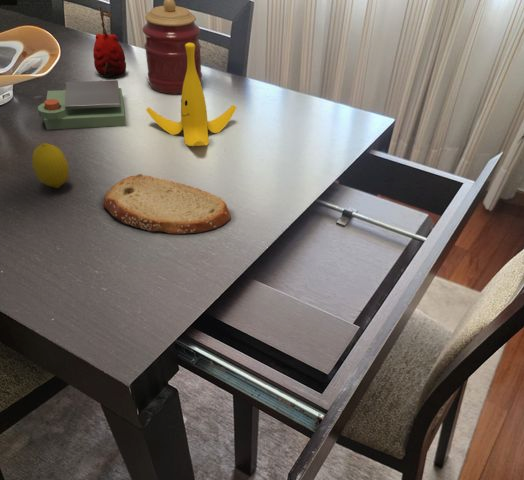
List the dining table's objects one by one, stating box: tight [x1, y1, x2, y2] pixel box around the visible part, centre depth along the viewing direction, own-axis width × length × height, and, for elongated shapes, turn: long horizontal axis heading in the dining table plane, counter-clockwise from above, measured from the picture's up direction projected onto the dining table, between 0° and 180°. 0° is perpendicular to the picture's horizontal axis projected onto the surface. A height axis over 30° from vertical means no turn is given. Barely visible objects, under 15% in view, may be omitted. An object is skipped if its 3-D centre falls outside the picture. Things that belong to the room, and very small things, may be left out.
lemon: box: [31, 142, 70, 189], centre depth 83 cm, size 6×6×8 cm
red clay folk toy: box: [92, 6, 127, 79], centre depth 116 cm, size 8×7×15 cm
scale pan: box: [65, 79, 121, 109], centre depth 104 cm, size 11×13×1 cm
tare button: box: [43, 99, 60, 110], centre depth 99 cm, size 3×3×1 cm
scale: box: [37, 87, 127, 131], centre depth 105 cm, size 17×15×4 cm
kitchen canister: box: [142, 0, 203, 95], centre depth 113 cm, size 13×13×18 cm
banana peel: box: [145, 43, 237, 147], centre depth 97 cm, size 17×19×17 cm
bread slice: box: [102, 173, 232, 235], centre depth 81 cm, size 18×18×4 cm
